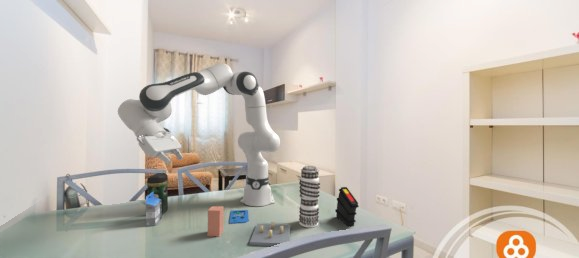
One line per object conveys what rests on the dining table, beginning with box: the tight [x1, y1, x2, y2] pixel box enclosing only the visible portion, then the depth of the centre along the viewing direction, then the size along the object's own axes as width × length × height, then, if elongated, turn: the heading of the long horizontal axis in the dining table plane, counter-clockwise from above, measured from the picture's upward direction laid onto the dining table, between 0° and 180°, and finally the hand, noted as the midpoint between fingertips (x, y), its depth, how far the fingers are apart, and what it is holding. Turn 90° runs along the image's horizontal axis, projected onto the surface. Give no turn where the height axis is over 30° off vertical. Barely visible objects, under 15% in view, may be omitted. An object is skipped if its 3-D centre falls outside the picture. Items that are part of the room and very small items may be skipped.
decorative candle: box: [298, 165, 321, 228], centre depth 106 cm, size 9×9×25 cm
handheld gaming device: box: [228, 209, 249, 225], centre depth 113 cm, size 8×1×15 cm
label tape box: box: [145, 191, 163, 227], centre depth 105 cm, size 9×4×12 cm, turn 12°
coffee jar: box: [146, 172, 169, 215], centre depth 116 cm, size 10×8×19 cm
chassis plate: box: [249, 221, 291, 247], centre depth 94 cm, size 16×14×4 cm
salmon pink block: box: [207, 205, 224, 238], centre depth 95 cm, size 5×5×10 cm
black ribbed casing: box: [335, 186, 360, 227], centre depth 109 cm, size 4×13×15 cm, turn 18°
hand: (175, 160), depth 95 cm, fingers open, 8 cm apart
